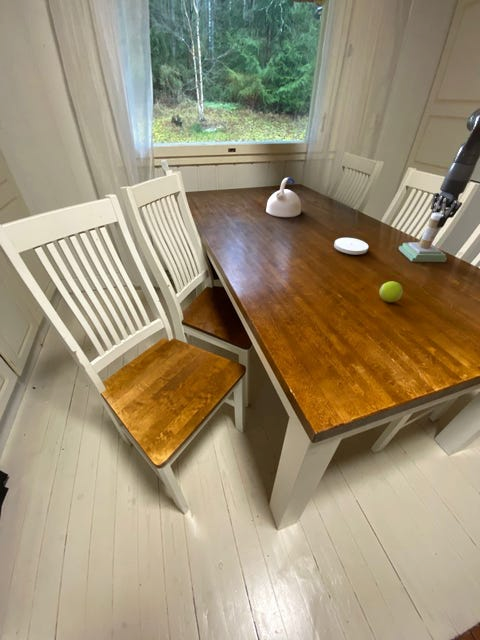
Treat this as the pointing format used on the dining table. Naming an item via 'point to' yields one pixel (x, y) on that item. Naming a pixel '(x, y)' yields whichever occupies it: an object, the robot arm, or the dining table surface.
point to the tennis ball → (391, 291)
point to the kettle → (284, 202)
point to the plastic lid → (351, 246)
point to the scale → (421, 255)
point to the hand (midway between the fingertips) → (435, 224)
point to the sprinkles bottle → (430, 231)
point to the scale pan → (424, 249)
